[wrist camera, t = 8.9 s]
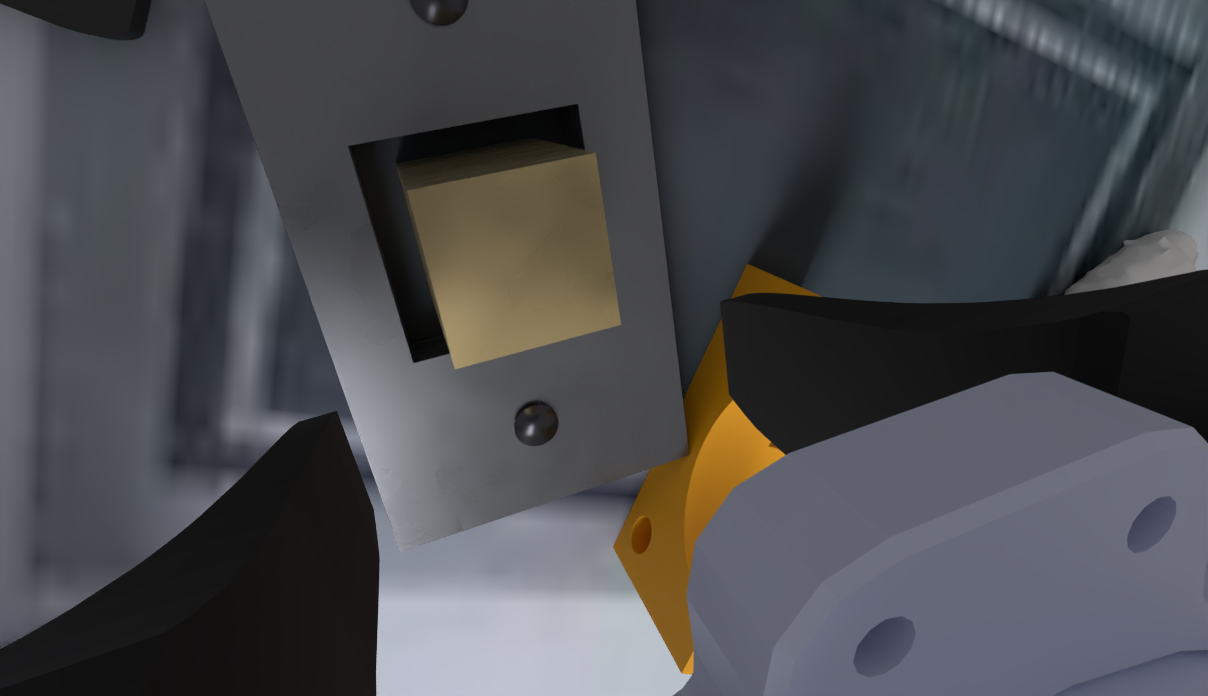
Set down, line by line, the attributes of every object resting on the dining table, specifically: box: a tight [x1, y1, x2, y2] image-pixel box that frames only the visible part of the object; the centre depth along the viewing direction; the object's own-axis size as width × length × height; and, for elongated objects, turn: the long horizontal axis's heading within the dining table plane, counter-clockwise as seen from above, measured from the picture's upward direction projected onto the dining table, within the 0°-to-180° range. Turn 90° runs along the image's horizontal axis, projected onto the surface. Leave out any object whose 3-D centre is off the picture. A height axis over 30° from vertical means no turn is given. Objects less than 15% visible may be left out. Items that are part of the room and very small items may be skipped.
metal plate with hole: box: [205, 0, 689, 551], centre depth 19 cm, size 10×18×2 cm, turn 9°
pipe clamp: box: [613, 264, 822, 674], centre depth 23 cm, size 12×4×6 cm, turn 155°
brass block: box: [395, 138, 621, 369], centre depth 17 cm, size 4×4×6 cm
